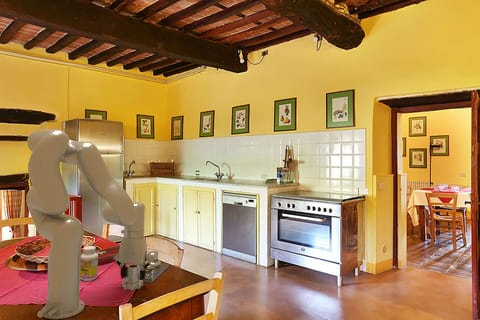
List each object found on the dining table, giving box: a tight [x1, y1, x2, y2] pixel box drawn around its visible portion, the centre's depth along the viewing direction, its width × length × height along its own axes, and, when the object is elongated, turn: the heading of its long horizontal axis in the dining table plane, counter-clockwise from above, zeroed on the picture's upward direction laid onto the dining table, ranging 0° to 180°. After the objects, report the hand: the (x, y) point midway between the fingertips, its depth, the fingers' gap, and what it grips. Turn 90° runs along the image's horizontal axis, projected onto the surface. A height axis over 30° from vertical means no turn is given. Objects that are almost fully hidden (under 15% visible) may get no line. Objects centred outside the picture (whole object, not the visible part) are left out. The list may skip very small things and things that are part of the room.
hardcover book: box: [81, 245, 120, 266], centre depth 165 cm, size 12×21×4 cm, turn 140°
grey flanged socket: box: [121, 264, 144, 291], centre depth 133 cm, size 8×8×8 cm
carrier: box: [124, 250, 170, 284], centre depth 147 cm, size 19×12×8 cm, turn 172°
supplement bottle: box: [80, 245, 99, 282], centre depth 139 cm, size 7×7×13 cm
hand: (132, 278), depth 133 cm, fingers open, 7 cm apart
